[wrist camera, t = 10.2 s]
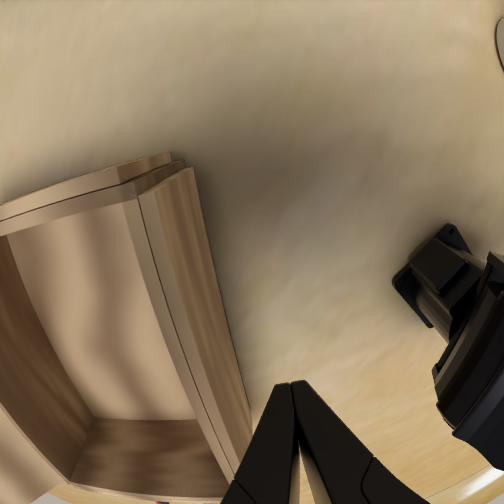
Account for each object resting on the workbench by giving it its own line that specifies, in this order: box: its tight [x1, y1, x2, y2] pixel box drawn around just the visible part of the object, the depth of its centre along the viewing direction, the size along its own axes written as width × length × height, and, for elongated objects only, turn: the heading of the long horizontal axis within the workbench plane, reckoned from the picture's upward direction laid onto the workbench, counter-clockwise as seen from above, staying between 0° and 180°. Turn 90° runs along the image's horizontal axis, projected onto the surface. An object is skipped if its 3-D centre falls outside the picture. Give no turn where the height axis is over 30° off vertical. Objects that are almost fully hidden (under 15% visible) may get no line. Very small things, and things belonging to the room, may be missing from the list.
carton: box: [0, 152, 253, 504], centre depth 18 cm, size 17×23×9 cm
